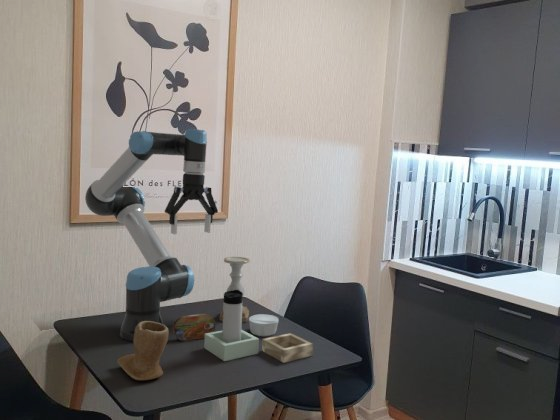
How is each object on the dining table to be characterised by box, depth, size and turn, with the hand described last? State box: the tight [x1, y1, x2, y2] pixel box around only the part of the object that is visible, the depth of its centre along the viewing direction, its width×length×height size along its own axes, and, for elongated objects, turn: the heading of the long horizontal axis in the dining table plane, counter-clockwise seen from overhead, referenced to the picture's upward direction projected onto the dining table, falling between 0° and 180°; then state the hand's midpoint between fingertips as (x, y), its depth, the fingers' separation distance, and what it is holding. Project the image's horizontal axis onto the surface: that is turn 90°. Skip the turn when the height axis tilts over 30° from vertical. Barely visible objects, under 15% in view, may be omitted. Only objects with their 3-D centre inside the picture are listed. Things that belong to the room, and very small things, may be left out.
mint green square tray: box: [203, 328, 260, 362], centre depth 171 cm, size 13×13×5 cm
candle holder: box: [218, 256, 250, 323], centre depth 206 cm, size 11×11×24 cm
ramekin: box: [248, 313, 279, 337], centre depth 191 cm, size 11×11×5 cm
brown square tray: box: [261, 332, 314, 363], centre depth 172 cm, size 12×12×4 cm
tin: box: [172, 313, 216, 342], centre depth 182 cm, size 15×3×8 cm, turn 117°
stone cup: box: [117, 321, 170, 381], centre depth 151 cm, size 15×12×15 cm
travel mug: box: [221, 290, 244, 344], centre depth 171 cm, size 6×7×20 cm
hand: (190, 233), depth 184 cm, fingers open, 13 cm apart
